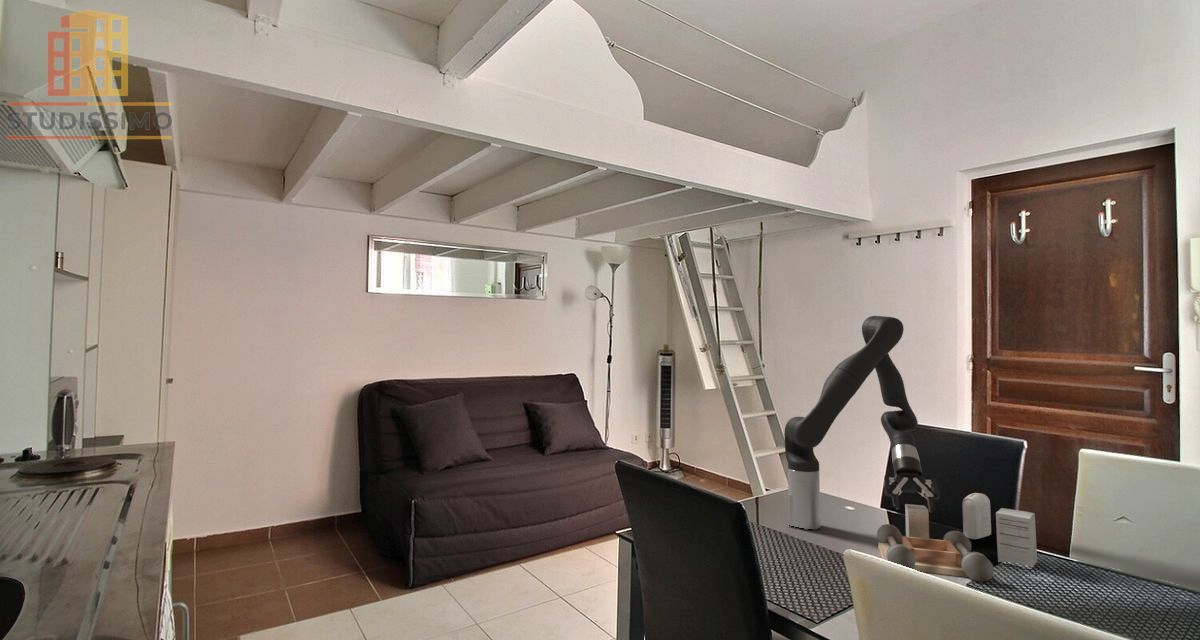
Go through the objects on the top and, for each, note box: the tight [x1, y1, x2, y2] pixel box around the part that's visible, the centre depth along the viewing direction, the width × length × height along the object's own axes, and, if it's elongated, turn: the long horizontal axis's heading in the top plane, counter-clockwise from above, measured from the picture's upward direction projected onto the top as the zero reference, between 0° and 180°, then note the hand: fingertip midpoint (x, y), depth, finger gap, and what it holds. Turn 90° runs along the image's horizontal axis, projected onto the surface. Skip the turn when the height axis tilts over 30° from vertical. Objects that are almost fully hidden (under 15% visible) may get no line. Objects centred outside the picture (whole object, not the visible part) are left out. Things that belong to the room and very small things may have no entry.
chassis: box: [876, 523, 995, 583], centre depth 144 cm, size 22×21×6 cm
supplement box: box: [995, 507, 1038, 566], centre depth 145 cm, size 7×7×13 cm
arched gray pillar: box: [962, 492, 992, 540], centre depth 167 cm, size 10×4×12 cm, turn 123°
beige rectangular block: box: [904, 503, 930, 539], centre depth 160 cm, size 5×5×10 cm
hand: (914, 509), depth 164 cm, fingers open, 8 cm apart
